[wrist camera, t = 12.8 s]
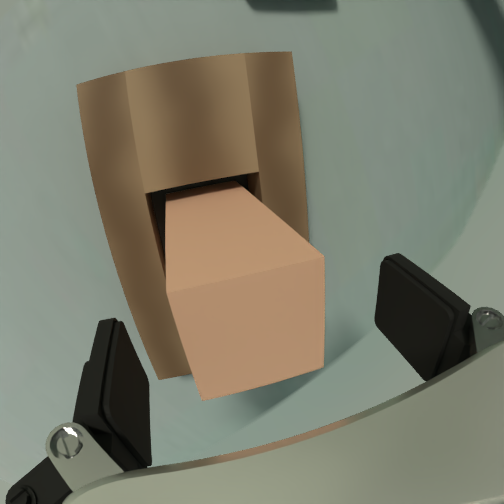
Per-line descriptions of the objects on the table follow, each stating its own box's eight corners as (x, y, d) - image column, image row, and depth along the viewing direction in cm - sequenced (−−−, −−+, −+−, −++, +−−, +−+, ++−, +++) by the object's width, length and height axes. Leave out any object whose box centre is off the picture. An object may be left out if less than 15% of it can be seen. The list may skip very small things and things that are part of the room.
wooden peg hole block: (273, 61, 20) (291, 51, 16) (296, 319, 29) (311, 342, 26) (90, 90, 17) (76, 84, 14) (157, 352, 26) (158, 379, 23)
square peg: (234, 180, 22) (324, 256, 10) (243, 243, 24) (323, 367, 12) (166, 193, 22) (166, 293, 9) (179, 257, 24) (202, 400, 11)
